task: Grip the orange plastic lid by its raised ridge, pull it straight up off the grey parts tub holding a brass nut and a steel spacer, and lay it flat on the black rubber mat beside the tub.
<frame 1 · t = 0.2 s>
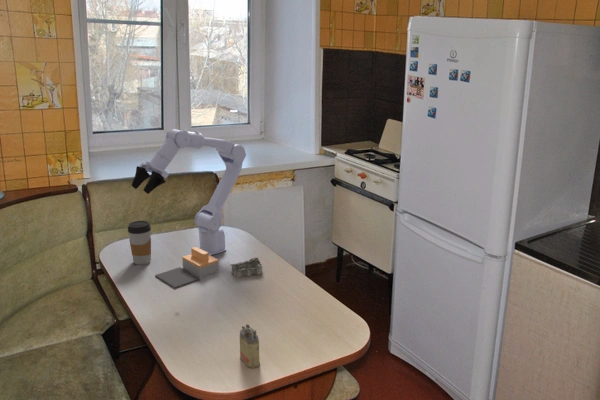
hand: (139, 189, 195), 31 cm above the table, tool tilted 45°, fingers open, 7 cm apart
egg carton: (247, 273, 205), on the table
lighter: (250, 361, 152), on the table
lid: (200, 262, 206), point 3 cm above the table, touching parts tub
mat: (177, 278, 200), on the table
coffee cup: (142, 262, 214), on the table
parts tub: (200, 269, 207), on the table
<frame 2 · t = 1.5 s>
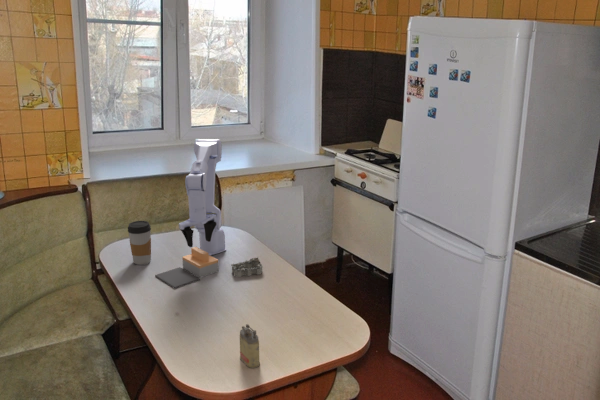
hand: (199, 243, 204), 10 cm above the table, tool pointing down, fingers open, 7 cm apart
nothing on the table moved.
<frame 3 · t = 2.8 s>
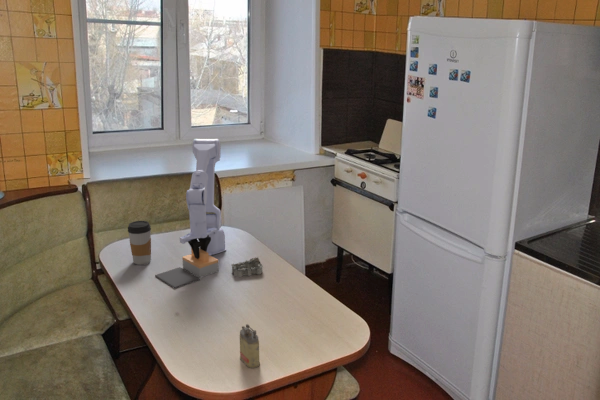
hand: (200, 256, 206), 5 cm above the table, tool pointing down, fingers closed on lid
lid: (200, 262, 206), point 3 cm above the table, touching gripper, parts tub
everything else where it was.
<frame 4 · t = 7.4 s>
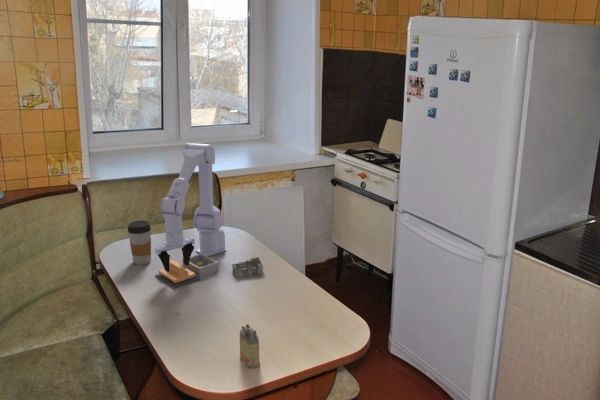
hand: (176, 267, 199), 4 cm above the table, tool pointing down, fingers open, 7 cm apart
lid: (177, 276, 200), point 1 cm above the table, touching mat
everything else where it was.
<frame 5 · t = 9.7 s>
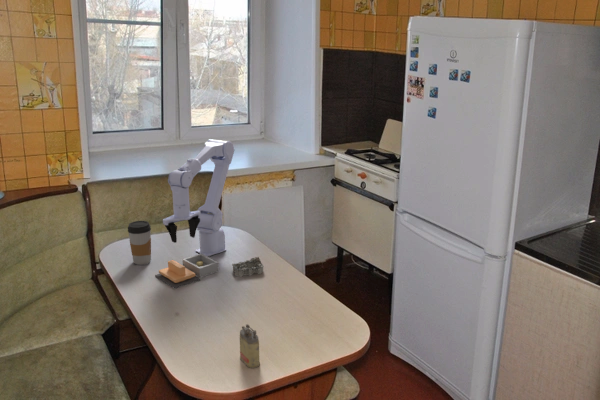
hand: (183, 239, 207), 10 cm above the table, tool pointing down, fingers open, 7 cm apart
nothing on the table moved.
at the end: lid inside the target area on the mat (0.1 cm from its centre), point 0.6 cm above the mat's base; lid tilted 0°; lid touching mat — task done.
